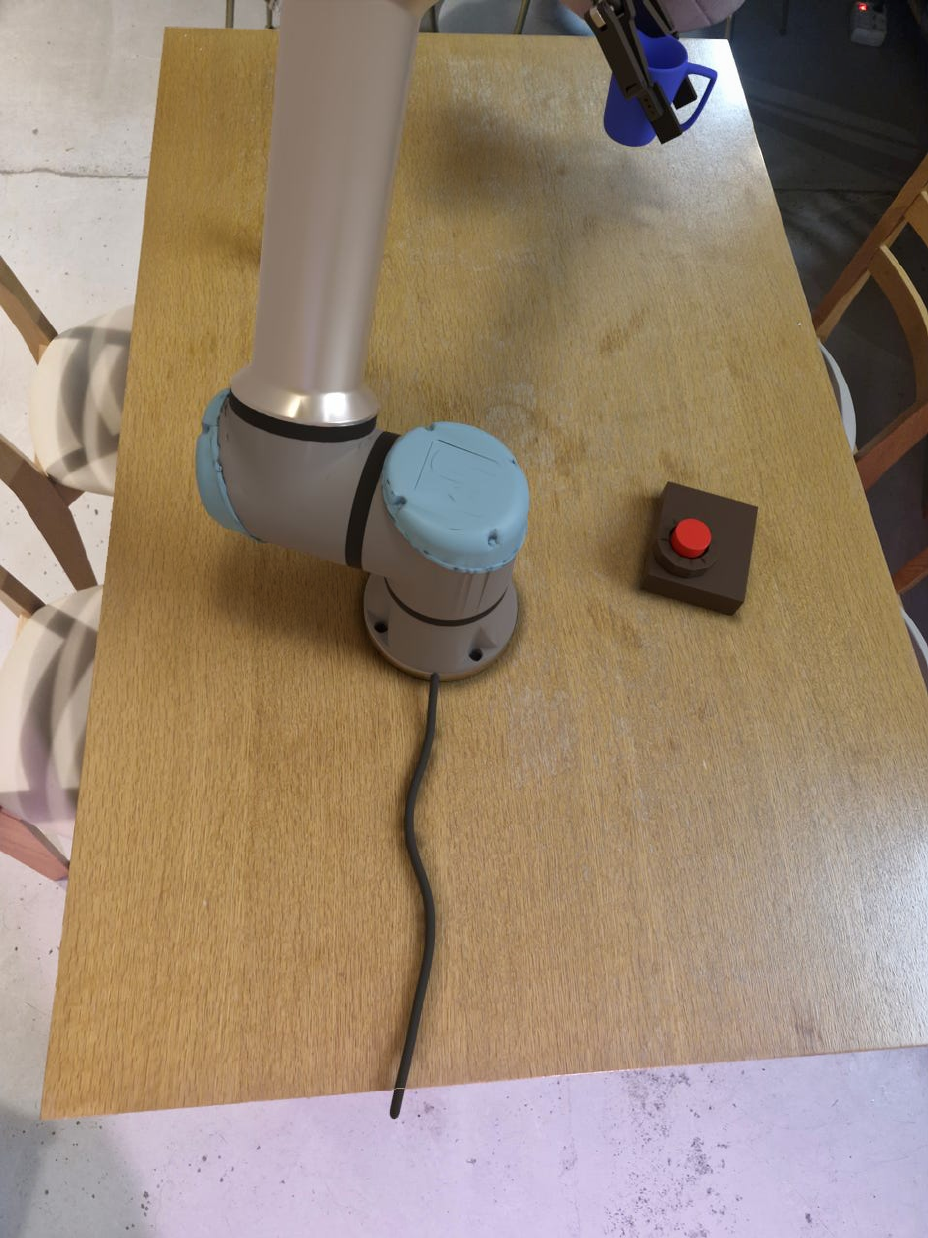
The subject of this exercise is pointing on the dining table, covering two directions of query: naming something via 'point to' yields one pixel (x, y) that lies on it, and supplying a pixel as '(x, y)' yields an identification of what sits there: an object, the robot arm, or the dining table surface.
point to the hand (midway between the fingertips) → (679, 119)
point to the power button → (690, 538)
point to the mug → (667, 68)
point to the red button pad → (719, 567)
